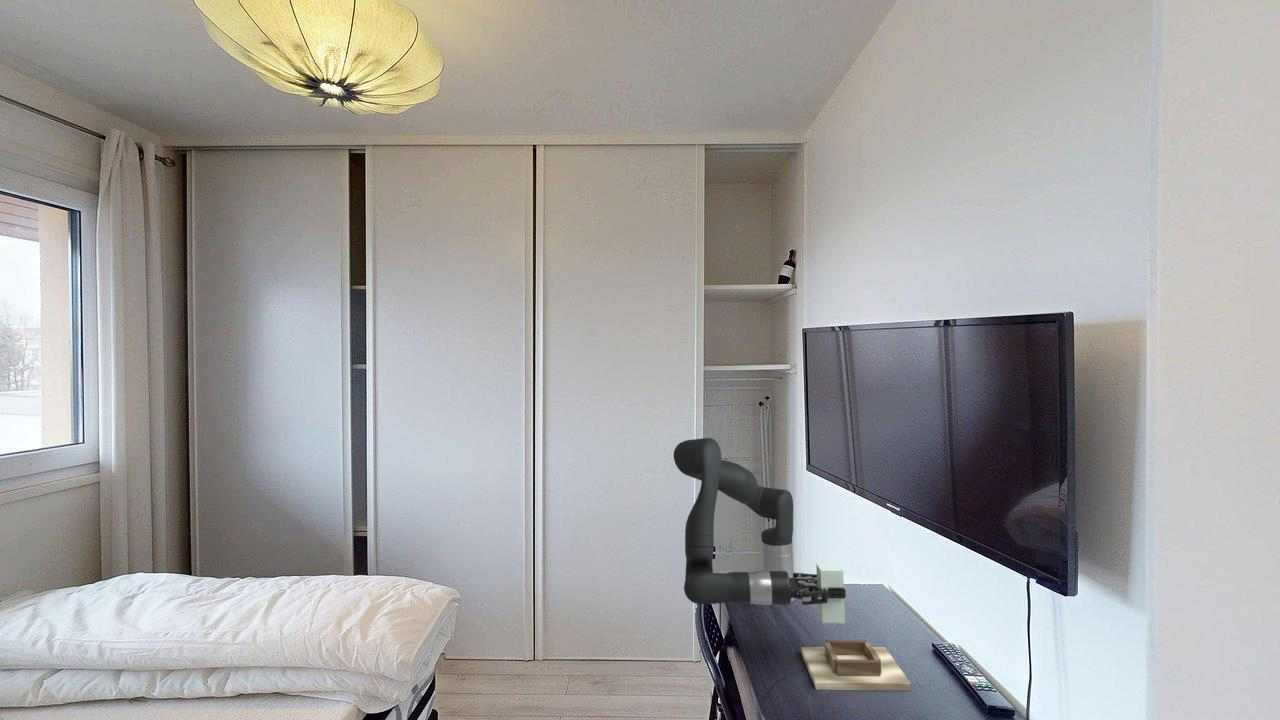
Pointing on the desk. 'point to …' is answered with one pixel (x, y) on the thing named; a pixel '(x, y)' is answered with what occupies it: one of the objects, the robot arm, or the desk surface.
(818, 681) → the socket board
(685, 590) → the robot arm
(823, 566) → the pillar
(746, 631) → the desk surface
